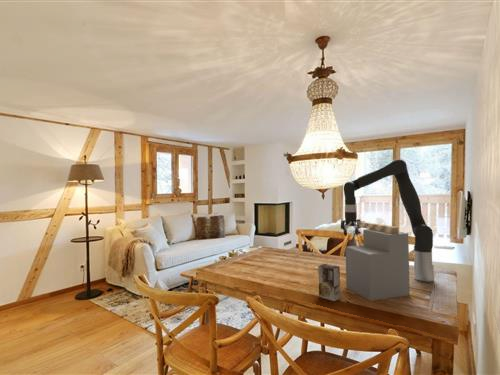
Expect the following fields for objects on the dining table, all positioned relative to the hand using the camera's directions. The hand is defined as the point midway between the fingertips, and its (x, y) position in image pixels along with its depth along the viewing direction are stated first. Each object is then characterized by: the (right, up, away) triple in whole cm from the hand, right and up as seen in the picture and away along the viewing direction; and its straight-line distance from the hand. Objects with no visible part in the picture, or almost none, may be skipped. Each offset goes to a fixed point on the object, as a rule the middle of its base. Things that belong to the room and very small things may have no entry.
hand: (351, 235), depth 188 cm
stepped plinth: (0, -24, -37) cm, 44 cm away
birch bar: (+4, +8, -30) cm, 31 cm away
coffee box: (-27, -25, -45) cm, 58 cm away
